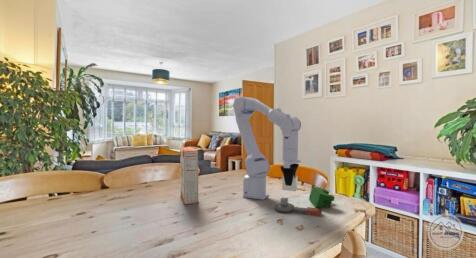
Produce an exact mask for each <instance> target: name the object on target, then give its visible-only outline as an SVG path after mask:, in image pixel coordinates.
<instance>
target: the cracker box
mask: <svg viewBox="0 0 476 258" xmlns="http://www.w3.org/2000/svg"><path fill="white" fill-rule="evenodd" d="M179 149H180V151H179V153H180V155H179V157H180V159H179V160H180V163H179V164H180V173H179V174H180V197H181V199H182V202H183V205H186V206H187V205H193V204H199V151H198V149H196V148H194V147H193V146H191V147H190V146H188V147H187V146H184V147H180V148H179Z"/></svg>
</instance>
